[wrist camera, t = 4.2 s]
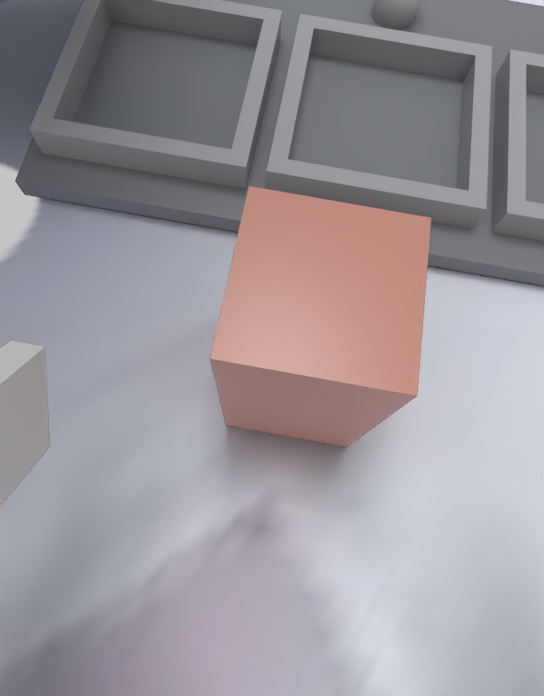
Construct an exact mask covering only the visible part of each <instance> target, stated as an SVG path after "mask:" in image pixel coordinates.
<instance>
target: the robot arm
mask: <svg viewBox="0 0 544 696" xmlns="http://www.w3.org/2000/svg"><path fill="white" fill-rule="evenodd" d="M49 447H50V438H49V417H48V397H47V377H46V357H45V347H44V346H39V345H33V344H28V343H22V342H17V341H12V340H11V341H10V342H8V343H7V344H6V345H4V346H3V347H1V348H0V507H1V506H2V504H3V503H4V502H5V501H6V500H7V498H8V497H9V496H10V495H11V493H12V492H13V491H14V490H15V489H16V487H17V486H18V485H19V484H20V482H21V481H22V480H23V479H24V478H25V476H26V475H27V474H28V473H29V471H30V470H31V469H32V468H33V467H34V465H35V464H36V463H37V462H38V460H39V459H40V458H41V457H42V456H43V454H44V453H45V452H46V451H47V450H48V448H49Z"/></svg>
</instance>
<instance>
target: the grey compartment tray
mask: <svg viewBox="0 0 544 696" xmlns="http://www.w3.org/2000/svg"><path fill="white" fill-rule="evenodd" d="M29 131H30V132H31V134H32V136H33V139H32V142H31V144H30V146H29V149H28V151H27V154H26V156H25V158H24V161H23V163H22V166H21V168H20V170H19V173H18V175H17V178H16V180H15V181H16V183H17V184H18V186H19V187H20V189H21V190H22V192H23V193H24V194H25V195H30V196H36V197H41V198H47V199H53V200H58V201H64V202H70V203H75V204H81V205H87V206H92V207H98V208H104V209H109V210H115V211H121V212H126V213H132V214H138V215H143V216H149V217H155V218H160V219H166V220H172V221H177V222H183V223H189V224H194V225H200V226H206V227H211V228H217V229H223V230H228V231H234V232H239V228H240V223H241V219H242V214H243V210H244V205H245V201H246V197H247V192H248V188H249V186H252V187H258V188H264V189H269V190H275V191H281V192H286V193H292V194H298V195H304V196H309V197H315V198H321V199H326V200H332V201H338V202H344V203H349V204H355V205H361V206H366V207H372V208H378V209H384V210H389V211H395V212H401V213H406V214H412V215H418V216H424V217H429V218H431V227H430V239H429V252H428V265H427V266H433V267H438V268H444V269H450V270H455V271H461V272H467V273H472V274H478V275H484V276H489V277H495V278H501V279H506V280H512V281H518V282H523V283H529V284H535V285H540V286H544V6H538V5H532V4H527V3H521V2H515V1H509V0H83V3H82V5H81V7H80V10H79V12H78V14H77V17H76V19H75V22H74V24H73V26H72V29H71V31H70V33H69V36H68V38H67V40H66V43H65V45H64V48H63V50H62V52H61V55H60V57H59V59H58V62H57V64H56V66H55V69H54V71H53V74H52V76H51V78H50V81H49V83H48V85H47V88H46V90H45V92H44V95H43V97H42V100H41V102H40V104H39V107H38V109H37V111H36V114H35V116H34V118H33V121H32V123H31V126H30V128H29Z"/></svg>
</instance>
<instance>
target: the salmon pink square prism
mask: <svg viewBox="0 0 544 696" xmlns="http://www.w3.org/2000/svg"><path fill="white" fill-rule="evenodd" d="M430 227H431V218H429V217H424V216H418V215H412V214H406V213H401V212H395V211H389V210H384V209H378V208H372V207H366V206H361V205H355V204H349V203H344V202H338V201H332V200H326V199H321V198H315V197H309V196H304V195H298V194H292V193H286V192H281V191H275V190H269V189H264V188H258V187H252V186H249V188H248V192H247V197H246V201H245V205H244V210H243V214H242V219H241V223H240V228H239V232H238V236H237V241H236V245H235V250H234V254H233V258H232V263H231V267H230V272H229V276H228V280H227V285H226V289H225V294H224V298H223V302H222V307H221V311H220V316H219V320H218V325H217V329H216V333H215V338H214V342H213V347H212V351H211V355H210V361H211V366H212V370H213V374H214V378H215V382H216V386H217V390H218V395H219V399H220V403H221V407H222V411H223V415H224V420H225V424H226V426H232V427H237V428H243V429H248V430H254V431H259V432H265V433H270V434H276V435H281V436H287V437H292V438H298V439H303V440H309V441H314V442H320V443H325V444H331V445H336V446H342V447H347V446H349V445H350V444H352V443H353V442H354V441H356V440H357V439H358V438H360V437H361V436H363V435H364V434H365V433H367V432H368V431H369V430H371V429H372V428H374V427H375V426H376V425H378V424H379V423H381V422H382V421H383V420H385V419H386V418H387V417H389V416H390V415H392V414H393V413H394V412H396V411H397V410H398V409H400V408H401V407H403V406H404V405H405V404H407V403H408V402H410V401H411V400H412V399H414V398H415V397H416V396H417V393H418V381H419V368H420V355H421V342H422V329H423V316H424V304H425V291H426V278H427V265H428V252H429V239H430Z"/></svg>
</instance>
